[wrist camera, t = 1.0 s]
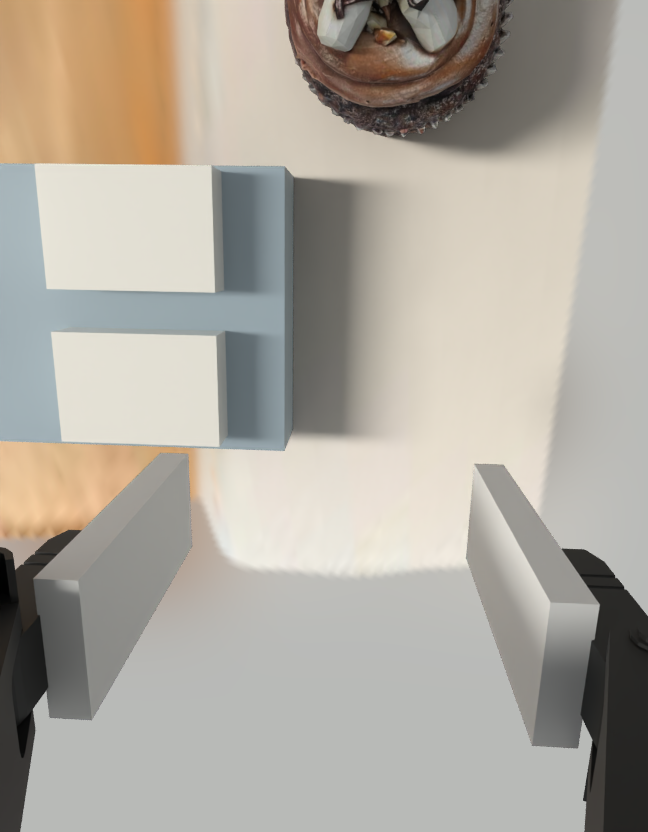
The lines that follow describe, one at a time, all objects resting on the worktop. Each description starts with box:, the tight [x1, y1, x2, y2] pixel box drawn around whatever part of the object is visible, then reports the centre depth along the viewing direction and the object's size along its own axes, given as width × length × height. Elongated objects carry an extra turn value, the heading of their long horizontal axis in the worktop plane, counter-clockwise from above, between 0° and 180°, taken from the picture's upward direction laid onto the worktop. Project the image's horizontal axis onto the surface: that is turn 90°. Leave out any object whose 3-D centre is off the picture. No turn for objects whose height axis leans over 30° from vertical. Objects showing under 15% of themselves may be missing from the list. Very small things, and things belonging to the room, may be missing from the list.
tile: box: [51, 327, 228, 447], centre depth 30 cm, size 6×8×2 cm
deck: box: [0, 163, 294, 451], centre depth 32 cm, size 14×16×4 cm
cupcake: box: [285, 0, 513, 137], centre depth 26 cm, size 10×10×10 cm
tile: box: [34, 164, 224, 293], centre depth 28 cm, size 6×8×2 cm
